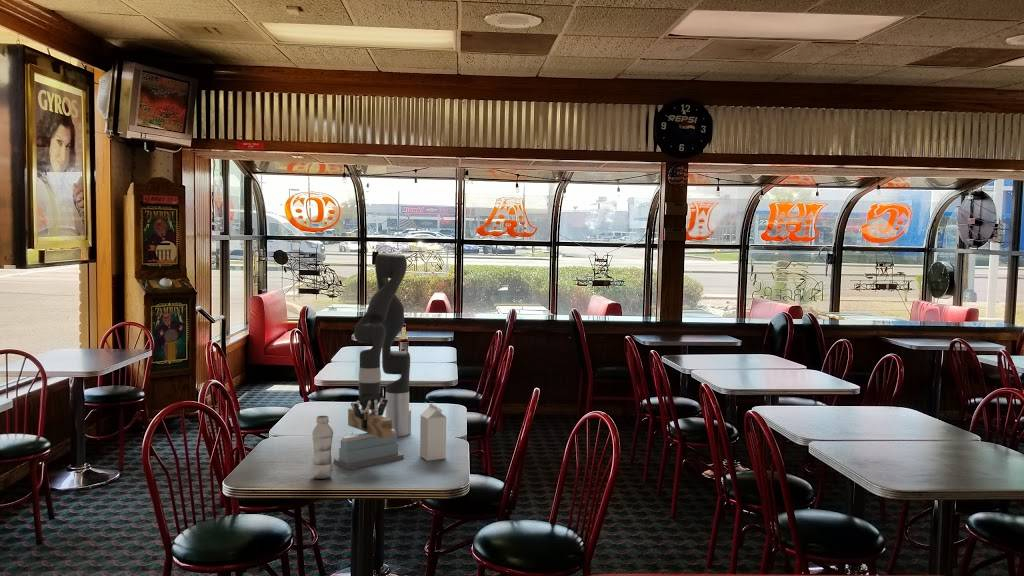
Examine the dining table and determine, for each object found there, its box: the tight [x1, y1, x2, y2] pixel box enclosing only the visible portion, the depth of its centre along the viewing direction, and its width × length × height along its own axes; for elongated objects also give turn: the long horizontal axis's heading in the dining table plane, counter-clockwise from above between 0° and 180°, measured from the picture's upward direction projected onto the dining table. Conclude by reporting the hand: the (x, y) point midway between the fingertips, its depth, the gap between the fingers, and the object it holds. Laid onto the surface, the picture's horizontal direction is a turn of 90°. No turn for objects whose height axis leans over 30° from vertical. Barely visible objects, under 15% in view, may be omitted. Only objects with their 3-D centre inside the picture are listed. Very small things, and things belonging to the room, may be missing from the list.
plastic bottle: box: [311, 415, 334, 480], centre depth 251 cm, size 6×7×20 cm
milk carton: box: [419, 402, 447, 462], centre depth 277 cm, size 7×7×19 cm
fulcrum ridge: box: [333, 429, 405, 471], centre depth 272 cm, size 22×10×10 cm, turn 131°
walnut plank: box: [347, 407, 392, 439], centre depth 271 cm, size 24×3×6 cm, turn 41°
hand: (369, 429), depth 272 cm, fingers closed on walnut plank, 3 cm apart
